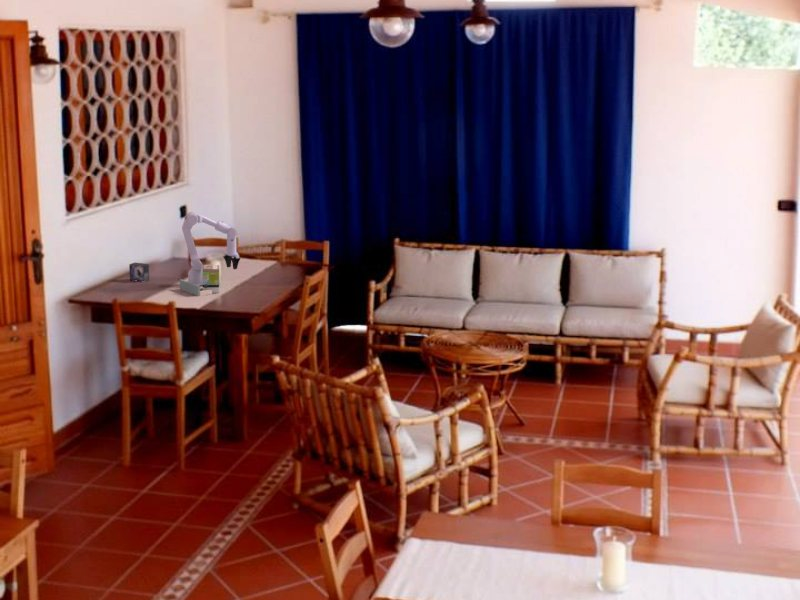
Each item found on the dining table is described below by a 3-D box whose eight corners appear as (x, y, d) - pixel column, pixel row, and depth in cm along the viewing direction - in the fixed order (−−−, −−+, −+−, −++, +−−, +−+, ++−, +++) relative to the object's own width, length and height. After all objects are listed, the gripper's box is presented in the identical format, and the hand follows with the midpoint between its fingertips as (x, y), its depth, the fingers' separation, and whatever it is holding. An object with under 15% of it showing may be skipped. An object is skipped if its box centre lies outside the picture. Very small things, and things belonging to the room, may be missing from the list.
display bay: (179, 289, 697) (179, 279, 696) (193, 287, 703) (193, 277, 701) (198, 296, 680) (197, 285, 679) (212, 294, 685) (211, 284, 684)
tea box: (219, 293, 689) (219, 268, 685) (202, 293, 687) (202, 268, 684) (219, 288, 703) (219, 263, 700) (203, 288, 702) (202, 264, 698)
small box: (129, 280, 720) (128, 264, 718) (135, 278, 726) (134, 262, 724) (143, 282, 716) (143, 265, 714) (149, 280, 722) (149, 263, 720)
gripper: (243, 247, 709) (243, 269, 712) (231, 244, 720) (231, 265, 723) (233, 248, 705) (233, 270, 708) (221, 245, 716) (221, 266, 719)
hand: (231, 268), depth 715 cm, fingers open, 7 cm apart
